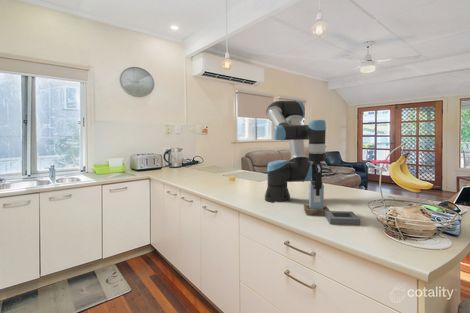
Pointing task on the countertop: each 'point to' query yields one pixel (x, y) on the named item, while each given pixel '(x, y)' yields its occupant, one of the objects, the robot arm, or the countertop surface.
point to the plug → (311, 197)
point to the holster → (315, 211)
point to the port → (342, 218)
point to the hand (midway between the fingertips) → (316, 200)
